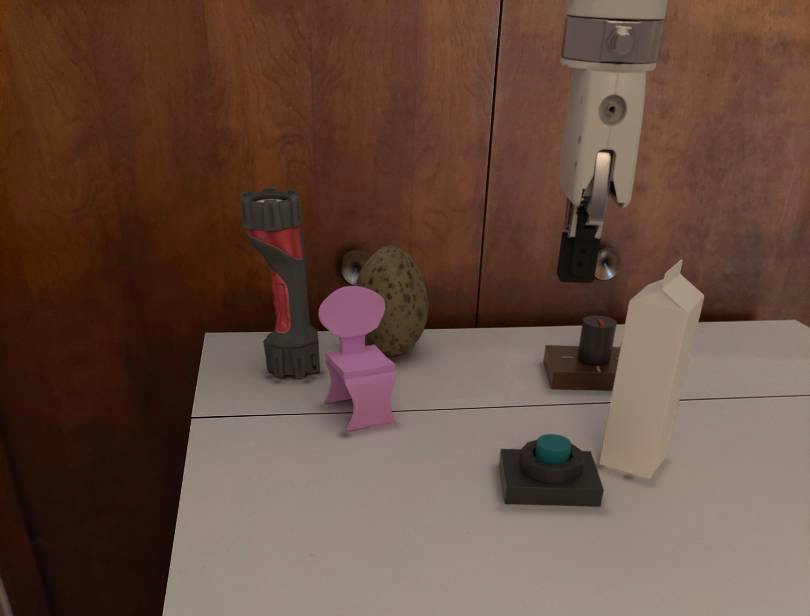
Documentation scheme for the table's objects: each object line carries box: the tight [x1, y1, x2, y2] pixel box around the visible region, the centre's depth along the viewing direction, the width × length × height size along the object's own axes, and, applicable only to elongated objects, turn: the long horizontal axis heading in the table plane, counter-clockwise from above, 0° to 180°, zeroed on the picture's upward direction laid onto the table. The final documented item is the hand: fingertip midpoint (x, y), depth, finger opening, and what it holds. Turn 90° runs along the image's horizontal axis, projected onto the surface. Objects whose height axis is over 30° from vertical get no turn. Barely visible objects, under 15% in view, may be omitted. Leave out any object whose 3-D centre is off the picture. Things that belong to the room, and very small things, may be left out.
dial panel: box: [542, 344, 621, 391], centre depth 109 cm, size 12×9×3 cm
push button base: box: [498, 439, 605, 508], centre depth 85 cm, size 10×8×4 cm
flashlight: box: [240, 186, 321, 379], centre depth 103 cm, size 8×8×23 cm
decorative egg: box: [354, 245, 429, 357], centre depth 111 cm, size 11×11×15 cm
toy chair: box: [317, 285, 397, 432], centre depth 95 cm, size 8×9×15 cm
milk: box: [599, 258, 705, 480], centre depth 85 cm, size 6×6×22 cm
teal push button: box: [535, 433, 572, 464], centre depth 84 cm, size 4×4×2 cm
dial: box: [577, 315, 618, 365], centre depth 107 cm, size 4×4×6 cm
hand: (574, 279), depth 74 cm, fingers closed
